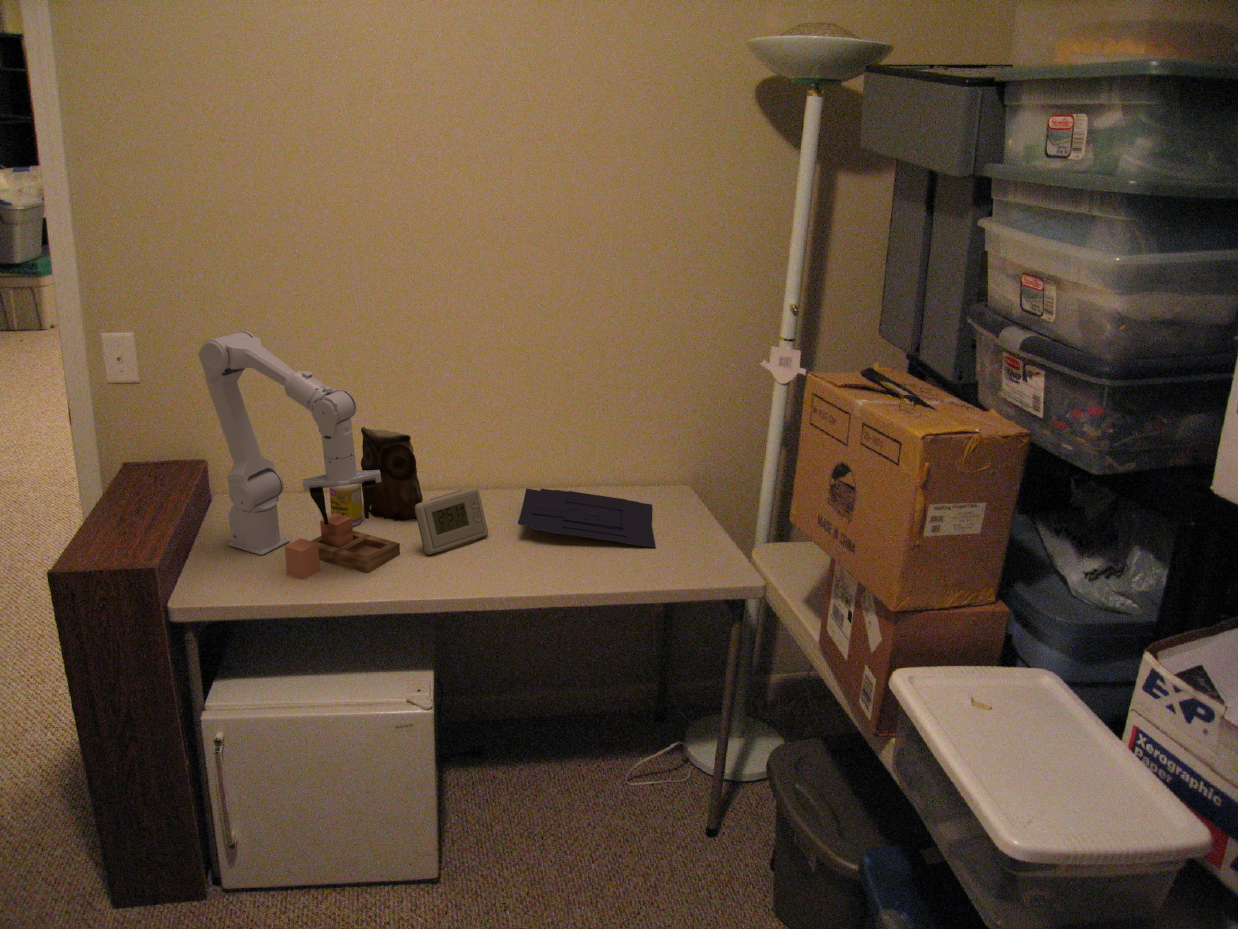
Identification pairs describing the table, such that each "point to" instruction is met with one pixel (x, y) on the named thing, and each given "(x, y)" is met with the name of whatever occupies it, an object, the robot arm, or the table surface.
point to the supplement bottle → (347, 502)
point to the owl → (392, 474)
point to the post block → (302, 558)
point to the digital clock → (451, 520)
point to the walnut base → (353, 545)
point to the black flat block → (588, 516)
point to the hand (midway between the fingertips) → (346, 520)
